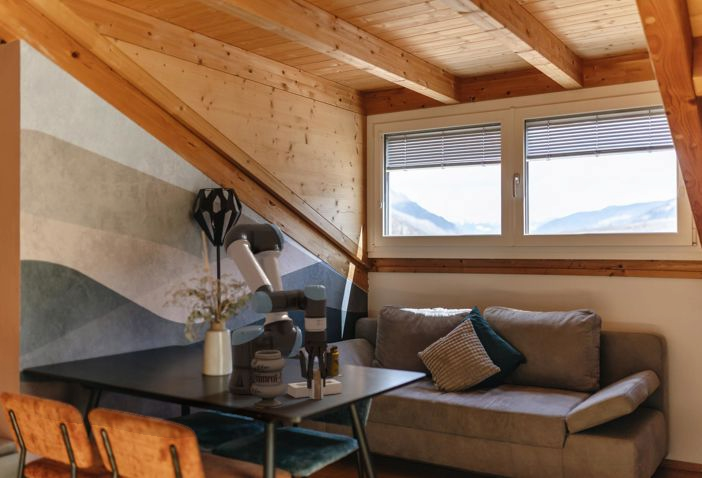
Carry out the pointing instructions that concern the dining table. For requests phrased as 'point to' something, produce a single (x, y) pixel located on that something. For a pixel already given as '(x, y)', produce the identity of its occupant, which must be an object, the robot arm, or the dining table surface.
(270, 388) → the apothecary jar
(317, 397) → the dowel
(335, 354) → the condiment
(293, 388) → the hole block
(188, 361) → the dining table surface
